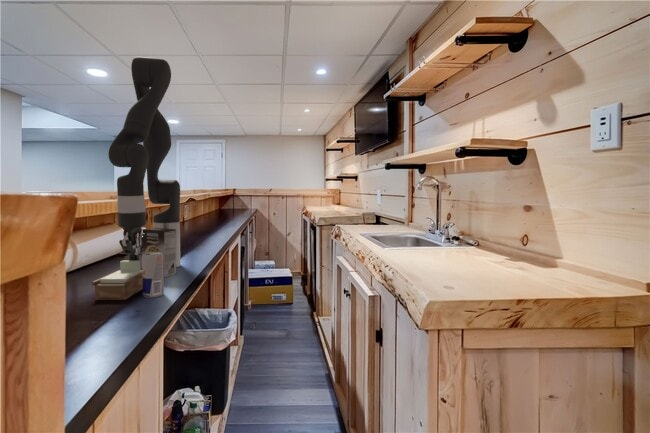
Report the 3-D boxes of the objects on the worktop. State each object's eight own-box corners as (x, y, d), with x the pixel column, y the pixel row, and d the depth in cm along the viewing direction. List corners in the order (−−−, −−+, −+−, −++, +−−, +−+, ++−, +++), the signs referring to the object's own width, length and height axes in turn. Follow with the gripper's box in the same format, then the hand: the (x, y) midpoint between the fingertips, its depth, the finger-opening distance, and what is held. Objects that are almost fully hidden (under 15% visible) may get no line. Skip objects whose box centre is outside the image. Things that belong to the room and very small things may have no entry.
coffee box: (142, 275, 124) (141, 229, 123) (156, 271, 131) (155, 227, 129) (164, 278, 122) (163, 230, 121) (177, 273, 128) (176, 228, 127)
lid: (120, 274, 110) (119, 260, 109) (144, 273, 110) (143, 260, 110) (100, 283, 99) (99, 268, 98) (127, 283, 99) (126, 268, 99)
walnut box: (118, 286, 111) (117, 270, 110) (149, 286, 111) (149, 270, 111) (92, 300, 97) (91, 282, 96) (128, 299, 98) (127, 281, 97)
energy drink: (144, 293, 103) (143, 252, 103) (164, 291, 105) (163, 251, 104) (141, 298, 98) (140, 255, 98) (163, 297, 100) (162, 254, 100)
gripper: (134, 213, 103) (137, 272, 105) (153, 208, 116) (155, 261, 118) (107, 212, 103) (111, 272, 105) (129, 208, 116) (131, 261, 118)
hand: (134, 266), depth 112 cm, fingers closed
